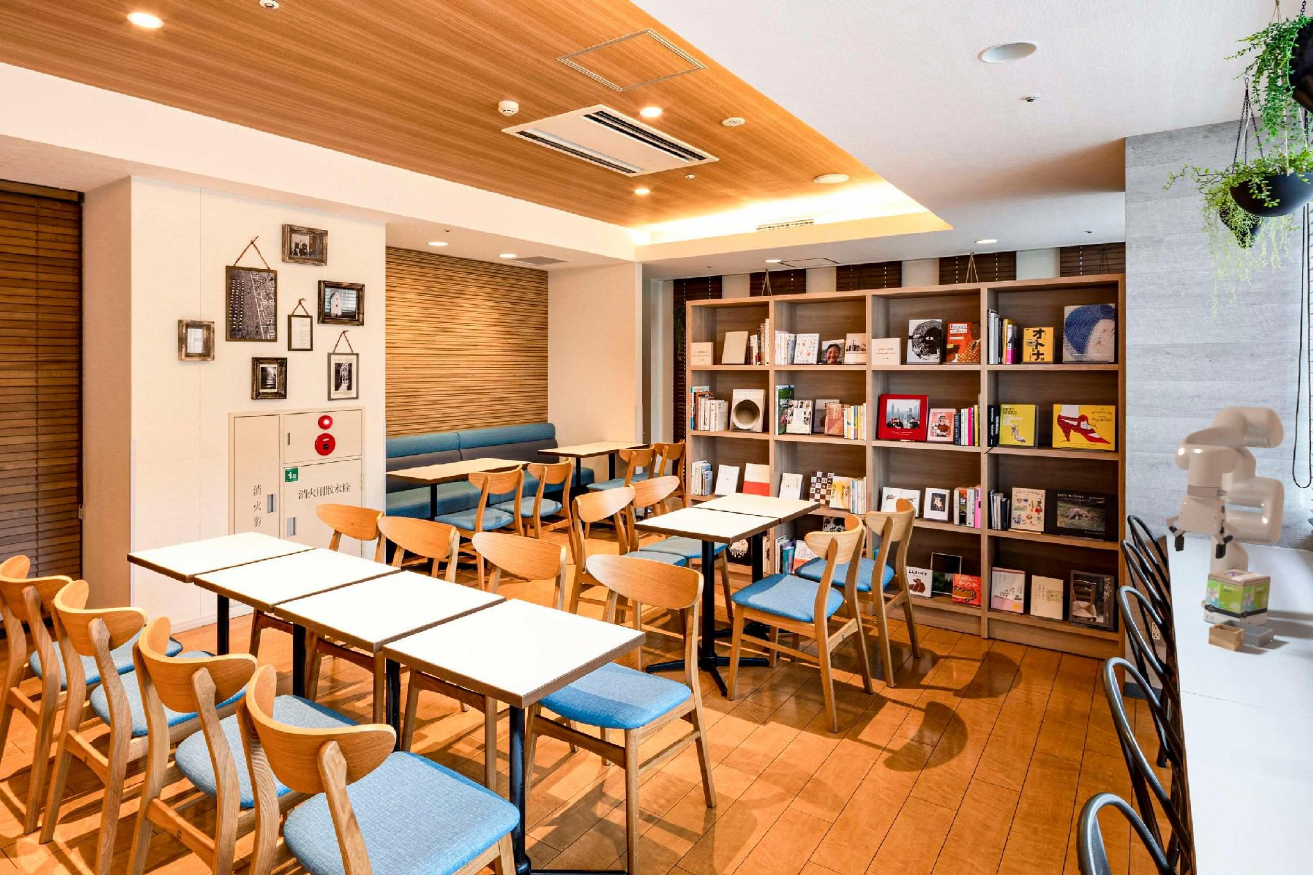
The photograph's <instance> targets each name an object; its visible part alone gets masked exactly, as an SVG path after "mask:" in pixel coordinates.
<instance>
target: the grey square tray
mask: <svg viewBox="0 0 1313 875" xmlns="http://www.w3.org/2000/svg"><path fill="white" fill-rule="evenodd" d="M1220 624H1224V625H1228V626H1232V627H1236V628H1240V629H1244V630H1245V633H1244V645H1248V646H1251V645H1254V646H1253V647H1255V646H1256V648H1260V647H1262V646H1264V645H1266V644H1269V643H1271V642H1272V641H1271V640H1273V641H1274V638H1275V629H1273V628H1270V627H1269V628H1268V627H1266V626H1260V625H1252V624H1248V623H1244V622H1240V621H1235V620H1231V619H1229V620H1226V621H1224V622H1221V623H1220ZM1270 641H1271V642H1270ZM1261 645H1262V646H1261Z"/></svg>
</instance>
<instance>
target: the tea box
mask: <svg viewBox="0 0 1313 875" xmlns="http://www.w3.org/2000/svg"><path fill="white" fill-rule="evenodd" d="M1207 574H1208V575H1207V584H1206V594H1205V600H1206V601H1205V607H1204V609H1203V610H1204V613H1203V621H1205V622H1209V623H1211V624H1214V625H1216V624H1219V623H1221V622H1224V621H1226V620H1229V619H1231V620H1235V621H1240V622H1244V623H1248V624H1252V625H1257V626H1260V625H1265V624H1266V623H1267V617H1268V609H1269V608H1268V607H1269V598H1270V587H1271V575H1270V576H1269V575H1265V574H1260V573H1255V572H1251V571H1248V572H1247V571H1242V570H1237V569H1232V570H1226V571H1220V572H1214V573H1210V572H1209V573H1207Z"/></svg>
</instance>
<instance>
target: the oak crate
mask: <svg viewBox="0 0 1313 875" xmlns="http://www.w3.org/2000/svg"><path fill="white" fill-rule="evenodd" d="M1208 629H1209V630H1208V640H1207V641H1208V643H1207V645H1208V644H1210V645H1209V646H1212V645H1214V646H1213V647H1215V646H1217V647H1216V648H1219V647H1221V648H1220V649H1223V650H1227V651H1231V652H1236V651H1238V650H1241V649H1242V647H1243V648H1244V647H1245V646H1244V645H1245V644H1244V633H1245V630H1244V629H1240V628H1236V627H1232V626H1228V625H1224V624H1220V623H1219V624H1214V625H1211V626H1209V628H1208Z"/></svg>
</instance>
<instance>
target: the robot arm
mask: <svg viewBox="0 0 1313 875" xmlns="http://www.w3.org/2000/svg"><path fill="white" fill-rule="evenodd" d="M1284 434H1285V432H1284V426H1283V424H1282V422H1281V420H1280V417H1279V415H1278V414H1277V413H1276V412H1275V410H1273V409H1271V408H1268V407H1259V406H1258V407H1257V406H1229V407H1228V406H1227V407H1225V408H1223V409H1221V410H1220V411H1219V412H1218V413H1217V414H1216V416H1215V418H1214V420H1213V421H1212V422H1211V425H1210V426H1209V427H1205V428H1202V429H1199V430H1197V431H1194V432H1191V433H1189V434H1187V435H1186V436H1184V437H1183V439H1182V440H1181V442H1180V444H1179V445H1178V446H1177V450H1176V452H1175V457H1174V458H1175V464H1176V465H1177V467H1178V468H1180V470H1184V471H1188V474H1187V486H1186V487H1187V488H1186V494H1185V495H1184V496H1183V499H1182V500H1181V501H1182V502H1181V504H1180V509H1179V514H1178V515H1176V516H1172V517H1170V518H1166V519H1165V523H1166V525H1167V527H1168V530H1169V531H1170V532H1171V534H1172V535H1173V537H1174V548H1175V552H1177V553H1178V552H1182V551H1184V549H1185V536H1184V535H1185V534H1186V533H1192V534H1197V535H1205V536H1210V538H1211V539H1210V541H1211V543H1210V544H1211V547H1210V563H1209V573H1214V572H1220V571H1226V570H1232V569H1237V570H1242V571H1247V572H1249V570H1248V569H1249V563H1250V562H1249V561H1250V557H1249V553H1248V551H1247V550H1246V548H1245V546H1243V545H1242V544H1241V543H1242V542H1243V543H1249V544H1250V543H1251V544H1258V545H1265V546H1266V545H1267V546H1271V545H1272V546H1273V545H1276V544H1277V543H1279V541H1280V537H1281V534H1282V526H1283V516H1284V506H1285V505H1284V504H1285V487H1284V485H1283V483H1282V482H1281V481H1280V480H1279V479H1276V478H1272V477H1263V476H1262V477H1261V476H1256V468H1257V460H1256V458H1255V456H1254V455H1253V454H1252V452H1251V451H1250V450H1249V449H1248V448H1260V449H1261V448H1262V449H1263V448H1264V449H1275V448H1277V447H1279V446H1280V445H1281V444H1282V442H1283V440H1284ZM1226 505H1232V506H1238V507H1244V508H1245V507H1246V508H1256V509H1261V510H1262V511H1263V512H1256V511H1247V510H1239V509H1232V508H1226ZM1175 522H1178V523H1177V526H1176V525H1175ZM1177 527H1178V528H1177ZM1205 601H1206V599H1204V600H1203V599H1202V601H1201V603H1200V604H1201V606H1202V607H1203V608H1205Z"/></svg>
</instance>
